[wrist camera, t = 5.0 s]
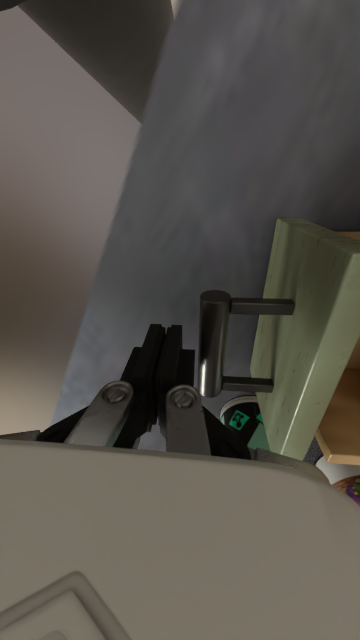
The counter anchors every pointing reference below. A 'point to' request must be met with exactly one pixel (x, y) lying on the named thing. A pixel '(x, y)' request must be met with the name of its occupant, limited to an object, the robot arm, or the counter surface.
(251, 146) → the counter surface
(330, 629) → the robot arm
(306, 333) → the drawer
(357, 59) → the counter surface
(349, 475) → the milk bottle
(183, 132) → the counter surface
